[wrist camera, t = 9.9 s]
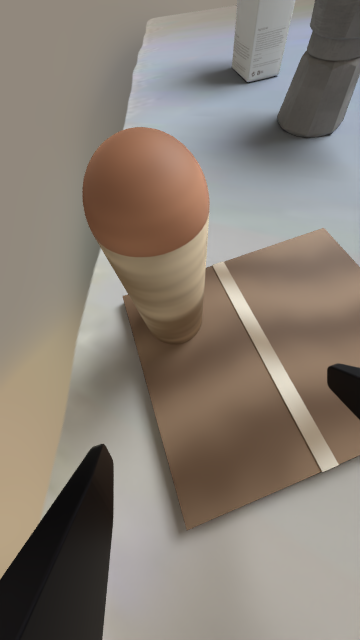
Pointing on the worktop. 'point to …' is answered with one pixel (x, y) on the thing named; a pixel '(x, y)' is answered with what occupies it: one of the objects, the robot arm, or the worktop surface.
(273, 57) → the skincare box
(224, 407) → the walnut board
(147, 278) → the wooden pin
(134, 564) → the worktop surface
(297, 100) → the coffeepot
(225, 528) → the worktop surface
